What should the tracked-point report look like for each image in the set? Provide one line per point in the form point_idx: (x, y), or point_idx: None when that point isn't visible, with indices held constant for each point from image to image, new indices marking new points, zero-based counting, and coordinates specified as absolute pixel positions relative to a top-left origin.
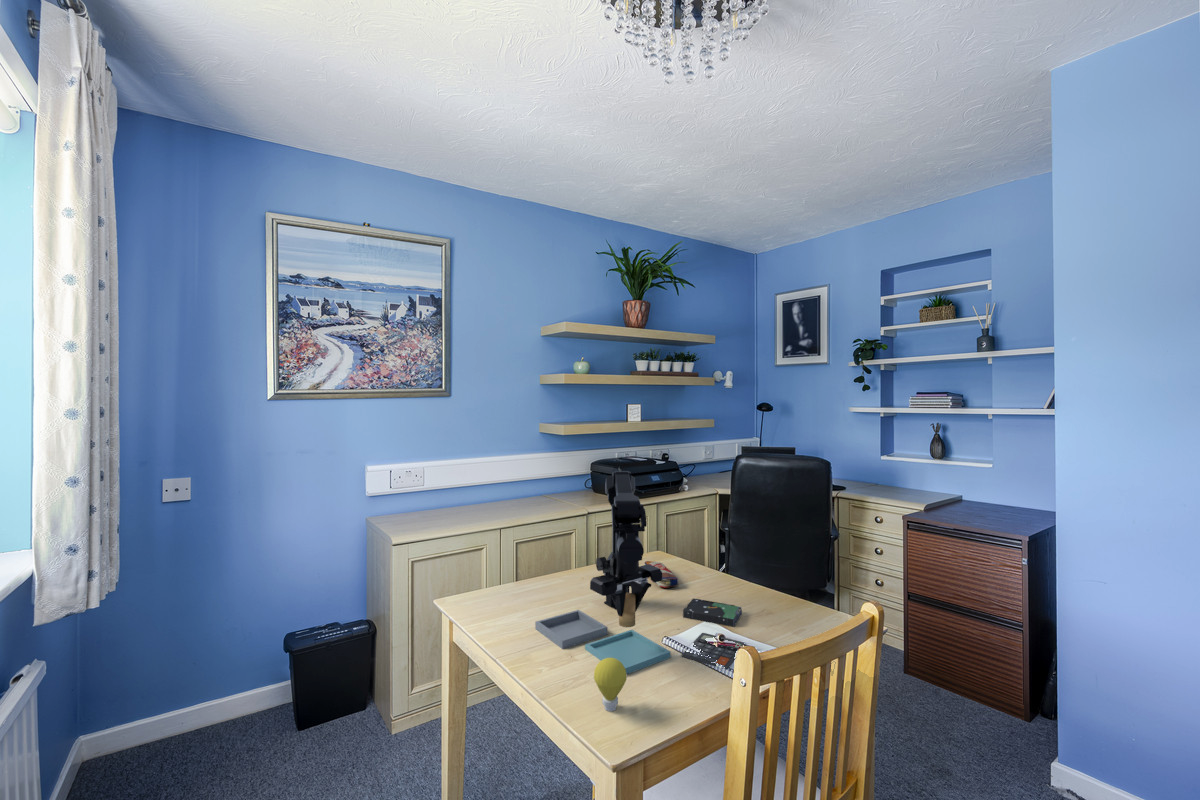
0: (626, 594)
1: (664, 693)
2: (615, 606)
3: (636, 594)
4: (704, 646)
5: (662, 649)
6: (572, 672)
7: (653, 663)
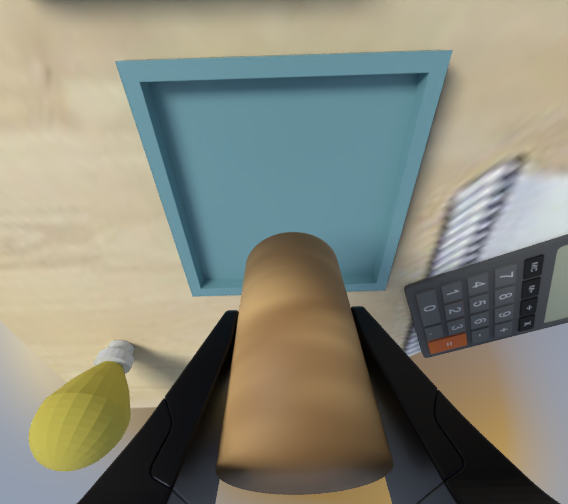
0: (319, 462)
1: None
2: (189, 365)
3: (400, 475)
4: (498, 290)
5: (379, 270)
6: (44, 197)
7: None
